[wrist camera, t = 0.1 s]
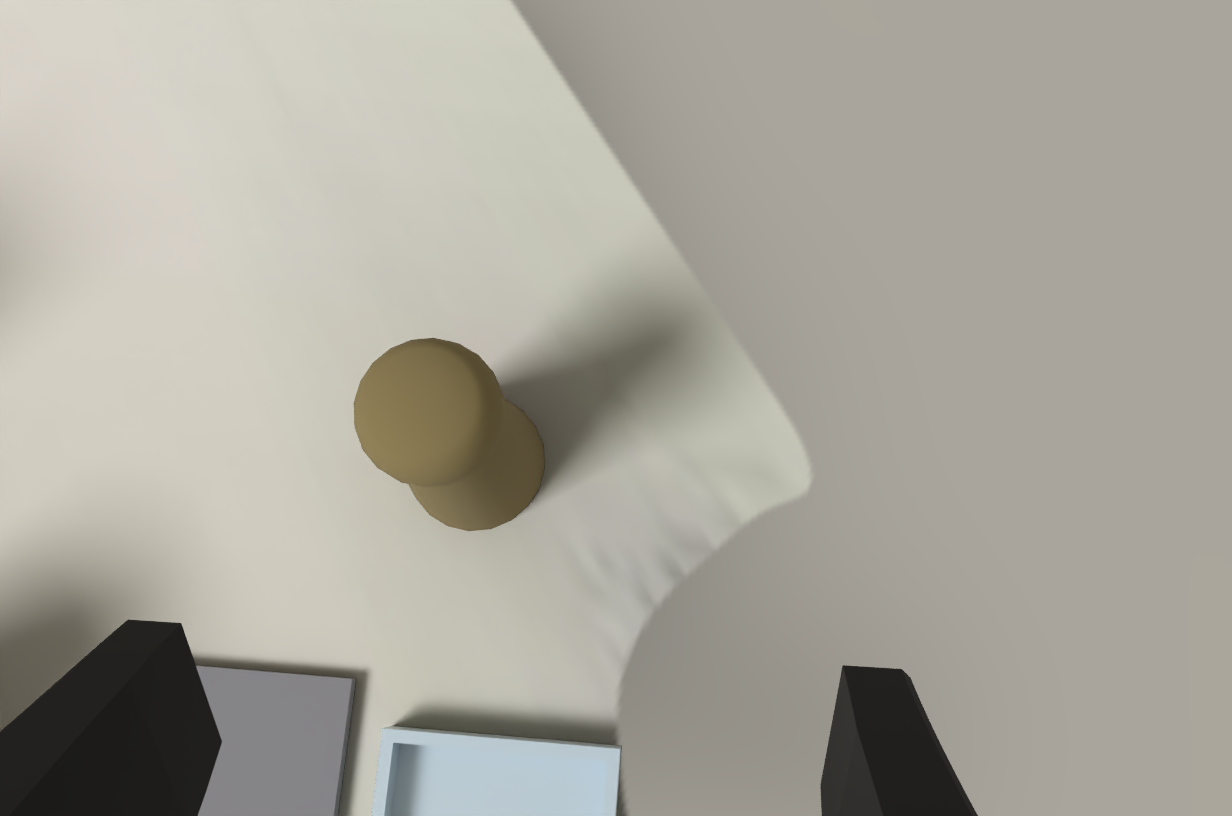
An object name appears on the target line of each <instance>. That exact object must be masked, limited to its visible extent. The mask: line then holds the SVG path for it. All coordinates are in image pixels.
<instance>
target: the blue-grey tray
mask: <svg viewBox="0 0 1232 816" xmlns="http://www.w3.org/2000/svg"><path fill="white" fill-rule="evenodd" d="M621 749H622V746H618V745H607V744H595V743H584V742H572V741H560V740H549V739H537V738H526V737H514V736H502V735H491V734H479V733H468V732H456V731H445V730H433V729H421V728H410V727H398V726H390V727H386V728H382V736H381V744H380V751H379V759H378V767H377V775H376V783H375V791H374V799H373V807H372V815H371V816H617V803H618V789H619V776H620V762H621Z"/></svg>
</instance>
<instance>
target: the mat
mask: <svg viewBox="0 0 1232 816" xmlns="http://www.w3.org/2000/svg"><path fill="white" fill-rule="evenodd" d="M196 668H197V671H198V673H199V676H200V679H201V682H202V685H203V688H204V691H205V694H206V696H207V699H208V702H209V705H210V708H211V711H212V714H213V717H214V720H215V722H216V725H217V728H218V731H219V734H220V737H221V740H222V744H221V747H220V750H219V753H218V757H217V760H216V763H215V766H214V769H213V772H212V775H211V778H210V781H209V785H208V788H207V791H206V794H205V796H204V799H203V802H202V805H201V808H200V811H199V813H198V816H338V811H339V803H340V796H341V788H342V781H343V773H344V766H345V758H346V751H347V743H348V736H349V729H350V721H351V714H352V706H353V699H354V691H355V684H356V679H354V678H342V677H330V676H318V675H306V674H294V673H282V672H270V671H258V670H246V669H234V668H222V667H211V666H199V665H196Z"/></svg>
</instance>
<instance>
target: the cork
mask: <svg viewBox="0 0 1232 816" xmlns="http://www.w3.org/2000/svg"><path fill="white" fill-rule="evenodd" d="M354 425H355V429H356V432H357V435H358V438H359V440H360V443H361V446H362V449H363V451H364V452H365V453H366V454H367V456H368V457H369V458H370V459H371V460H372V462H373V463H374V464H375V465H376V467H377V468H379V469H380V470H382V471H384V472H385V473H387V474H388V475H390V476H392V477H393V478H395V479H397V480H398V481H400V482H402V483H406V484H409V486H410V488H411V490H412V492H413V493H414V495H415V497H416V499H417V500H418V501H419V502H420V504H421V505H422V506H423V507H424V509H425V510H426V511H427V512H428V513H429V515H431V516H432V517H434V518H436V519H437V520H439V521H440V522H442V523H444V524H445V525H447V526H450V527H454V528H458V529H463V530H467V531H474V530H485V529H492V528H494V527H497V526H499V525H501V524H504V523H506V522H508V521H511V520H512V519H513V518H514V517H516V516H517V515H518V514H519V513H520V512H522V511H523V510H524V509H525V508H526V507H527V506H528V505H529V504H530V502H531V500H532V499H533V497H534V496H535V494H536V492H537V491H538V489H539V488H540V484H541V480H542V476H543V472H544V468H545V460H544V446H543V443H542V440H541V438H540V436H539V433H538V431H537V428H536V426H535V425H534V424H533V422H532V421H531V420H530V419H529V418H528V417H527V415H526V414H525V413H524V412H523V411H522V410H521V409H519V408H518V407H516V406H515V405H513V404H512V403H510V402H508V401H507V400H505V399H504V396H503V394H502V391H501V389H500V386H499V384H498V381H497V379H496V376H495V375H494V373H493V371H492V370H491V369H490V368H489V367H488V365H487V364H486V363H485V362H484V361H483V360H482V359H481V357H480V356H479V355H477V354H476V353H474V352H472V351H471V350H469V349H467V348H465V347H464V346H462V345H460V344H458V343H454V342H450V341H445V340H440V339H436V338H428V339H417V340H410V341H408V342H405V343H403V344H400V345H398V346H395V347H393V348H391V349H389V350H388V351H387V352H386V353H384V354H383V355H382V356H381V357H379V358H378V359H377V360H376V361H374V362H373V363H372V365H371V366H370V368H369V369H368V371H367V372H366V374H365V375H364V377H363V378H362V380H361V381H360V384H359V387H358V391H357V394H356V397H355V401H354Z"/></svg>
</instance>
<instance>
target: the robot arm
mask: <svg viewBox="0 0 1232 816" xmlns="http://www.w3.org/2000/svg"><path fill="white" fill-rule="evenodd" d="M221 744H222V740H221V737H220V734H219V731H218V728H217V725H216V722H215V720H214V717H213V714H212V711H211V708H210V705H209V702H208V699H207V696H206V694H205V691H204V688H203V685H202V682H201V679H200V676H199V673H198V671H197V668H196V665H195V662H194V659H193V656H192V653H191V650H190V648H189V645H188V642H187V639H186V636H185V633H184V630H183V627H182V625H181V623H171V622H155V621H139V620H127V621H126V622H125V623H124V624H123V625H121V626H120V627H119V628H118V629H117V630H115V631H114V632H113V633H112V634H111V635H110V636H108V637H107V638H106V639H105V640H104V641H103V642H102V643H100V644H99V645H98V646H97V647H96V648H95V649H94V650H92V651H91V652H90V653H89V654H88V655H87V656H86V657H85V658H83V659H82V660H81V661H80V662H79V663H78V664H77V665H76V666H74V667H73V668H72V669H71V670H70V671H69V672H68V673H66V674H65V675H64V676H63V677H62V678H61V679H60V680H59V681H57V682H56V683H55V684H54V685H53V686H52V687H51V688H50V689H48V690H47V691H46V692H45V693H44V694H43V695H42V696H40V697H39V698H38V699H37V700H36V701H35V702H34V703H33V704H31V705H30V706H29V707H28V708H27V709H26V710H25V711H23V712H22V713H21V714H20V715H19V716H18V717H17V718H16V719H14V720H13V721H12V722H11V723H10V724H9V725H8V726H6V727H5V728H4V729H3V730H2V731H1V732H0V816H198V813H199V811H200V808H201V805H202V802H203V799H204V796H205V794H206V791H207V788H208V785H209V781H210V778H211V775H212V772H213V769H214V766H215V763H216V760H217V757H218V753H219V750H220V747H221ZM821 807H822V816H978V815H977V814H976V812H975V810H974V808H973V806H972V804H971V802H970V801H969V799H968V797H967V795H966V793H965V791H964V789H963V787H962V785H961V783H960V782H959V780H958V778H957V776H956V774H955V772H954V770H953V768H952V766H951V764H950V762H949V760H948V758H947V756H946V754H945V752H944V750H943V749H942V746H941V744H940V742H939V740H938V738H937V736H936V734H935V732H934V730H933V728H932V726H931V723H930V722H929V719H928V717H927V715H926V713H925V710H924V708H923V706H922V704H921V702H920V699H919V697H918V695H917V692H916V690H915V688H914V685H913V683H912V680H911V678H910V677H909V676H908V675H907V674H906V673H905V672H904V671H903V670H902V669H890V668H875V667H858V666H843V667H842V672H841V678H840V683H839V688H838V694H837V699H836V705H835V710H834V715H833V721H832V726H831V731H830V737H829V742H828V748H827V753H826V759H825V764H824V769H823V775H822V780H821Z"/></svg>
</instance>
